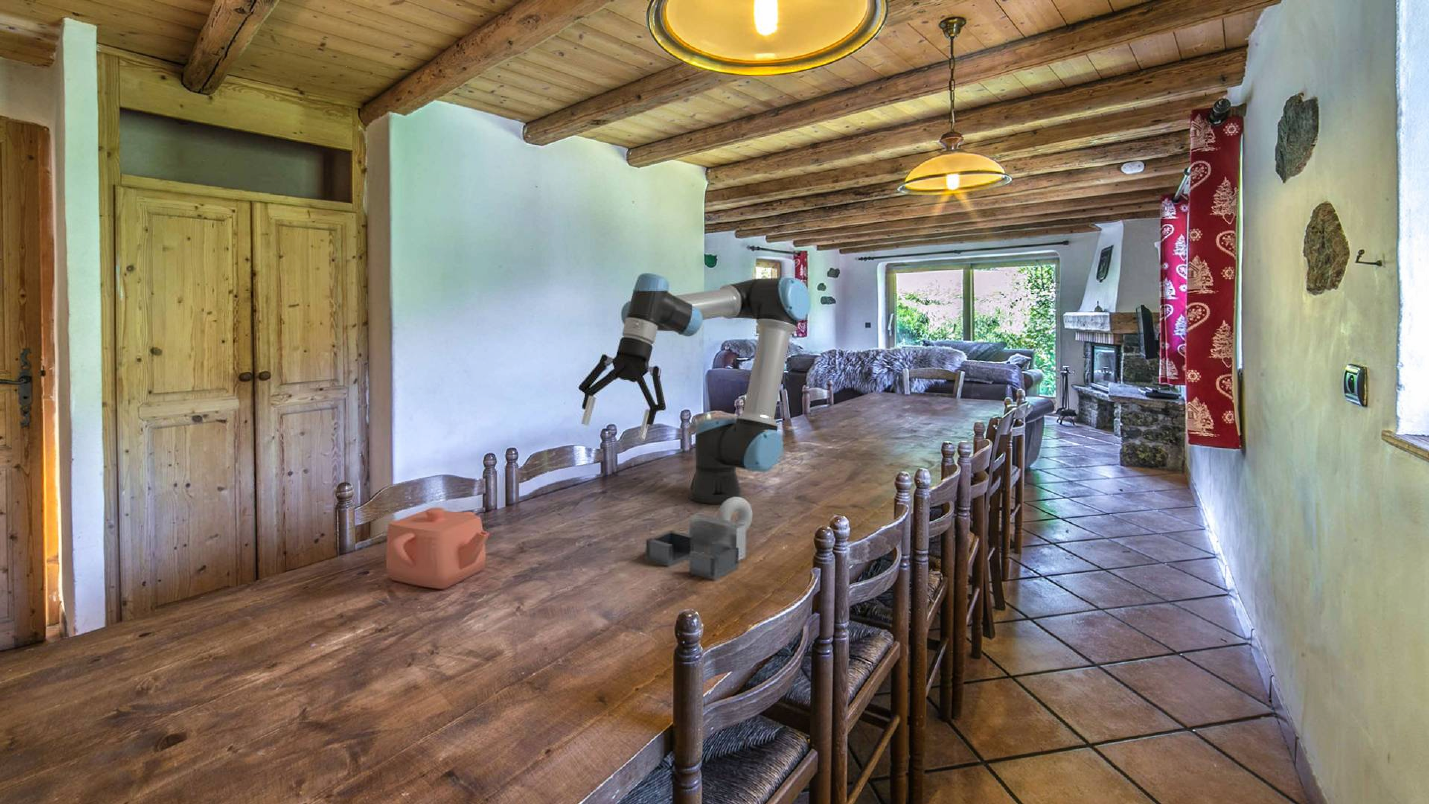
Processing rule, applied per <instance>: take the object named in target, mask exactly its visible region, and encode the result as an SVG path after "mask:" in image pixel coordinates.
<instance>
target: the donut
mask: <svg viewBox="0 0 1429 804" xmlns="http://www.w3.org/2000/svg"><path fill="white" fill-rule="evenodd" d="M735 512H738V517H737V520H736V521H735V522H736V523H741V524H745V525H746V532H747V531H748V529H749V528H750V526H751V524H752V521H753V510H752V507H751V504H750V502H748V501H747V500H746V499H745V498H743V497H742V496H741V497H732V498H729V499H727V500H726V501H725V502H723V503H722V504H720V506H719V508H718V510H717V512H716V517H715V518H719V519H724V520H728V521H731V518H732V515H733V513H735Z"/></svg>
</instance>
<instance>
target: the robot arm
mask: <svg viewBox="0 0 1429 804" xmlns="http://www.w3.org/2000/svg"><path fill="white" fill-rule="evenodd" d="M669 287H670V281H669V280H668V279H667V278H665V277H664V276H661V275H658V274H654V273H651V272H650V273H648V272H644V273H641V274H639V276H637V279H636V282H635V284H634V287H633V290H632V295H631V298H630V300H627V302H625V303H624V305H623V306H622V307H621V308H622V309H621V313H620V316H621V320H622V321H621V322H622V324H623V329H622V332H621V335H622V337H621V338H620V339H619V344H618V347H617V351H616V355H615V356H614V358H613V357H611V356H608V355H607V354H606V353H603V354H602V355H601V356H600V358H599V362H598V363H597V364H596V366H595V367H594V368H593V369H592V370H591V371H590V373H589V374H588V375H587V376H586V377H585V378H584V380H582V382H581V383H580V384H579V385H578V390H579V391H581V392H582V393H583V394H584V397H583V402H582V405H581V409H583V410H584V412H583V414H582V415H583V416H582V420H581V424H582V425H584V426H590V425H589V424H590V422H591V416H592V413H593V410H594V406H595V403H596V397H595V396H594V395H596V394H597V393H599V392H600V391H601V390H603V389H604V388H605V387H607V386H608V385H610V384H611V383H612V382H614V381H615V380H617V379H620V380H622V381H629V382H631V383H635V382H636V383H637V384H638V386H639V388H640V390H641V393H642V394H643V397H644V399H645V401H646V402H647V405H648V407H649V409H648V408H646V409H645V411H644V415H643V420H642V422H641V426H640V431H639V433H638V438H639V439H641V440H645V439H646V435H647V431H648V428H649V426H653V425H654V422H655V418H656V415H657V413H658V412H659V411H660V412H661V411H665V410H666V409H667V407H666V402H665V397H664V396H665V395H664V392H663V387H662V381H661V373H662V369H661V368H660V367H659V366H658V365H654V366H651V365H650V366H649V363H650V359H651V355H652V351H653V348H654V347H653V344H655V342H656V341H655V340H656V337H657V333H658V332H659V331H660V332H675V333H677V334H678V335H680V336H681V335H682V336H684V337H692V336H694V335H695V334H697V333H698V331H699V330H700V329H701V327H702V323H703V321H705V320H709V319H710V320H711V319H716V318H721V317H722V318H724V319H727V320H730V319H731V320H733V319H750V320H755V322H756V325H757V326H758V327H759V332H758V337H757V343H756V347H755V352H754V359H753V363H752V366H751V367H752V368H751V371H750V378H749V383H748V387H747V388H748V389H747V392H746V393H747V394H746V397H745V398H746V399H745V403H744V408H743V412H742V413H741V414H739V415H738V416H737V417H735V418H734V417H724V418H721V417H720V418H710V419H704V420H700V421H698V422H697V424H696V427H695V434H694V436H695V439H694V441H695V446H694V447H695V472H694V475H693V477H692V480H691V484H690V487H689V490H688V491H689V494H688V495H689V499H691V500H692V501H694V502H697V503H702V504H708V505H709V504H710V505H711V504H714V505H718V504H719V505H722V503H723V502H725V501H726V500H727V499H729V498H732V497H741V498H742V489H741V486H740V483H739V478H738V475H737V472H736V468H739V469H742V470H743V469H744V470H748V471H750V472H760V473H764V472H767V471H770V470H771V469H773V467H775V466H776V465H777V463H778V462H779V461H780V459H781V456H782V454H783V449H784V441H782V440H783V437H782V435H781V434H780V433H779V432H778V428H779V425H778V423H777V422H776V419H775V416H776V411H777V410H776V409H777V405H778V399H779V395H780V389H781V385H782V379H783V373H784V369H785V363H786V359H787V354H788V348H789V343H790V339H791V335H792V334H793V333H794V332H796V331H797V330H798V325H799V322H801V321H803V320H805V319H806V318H807V317H808V315H809V314H810V310H811V304H812V303H811V302H812V301H811V296H810V292H809V291H808V290H809V289H808V287H807V285H806V284H805V283H804V281H802V280H801V279H799V278H797V277H787V276H783V277H773V278H771V277H770V278H769V277H767V278H766V277H765V278H753V279H752V278H751V279H748V280H743V281H740V282H735V283H730V284H726V285H722V286H721V287H719V289H715V290H714V289H713V290H709V291H707V290H706V291H701V292H700V291H699V292H692V293H686V294H685V293H684V294H678V295H673V294H671V293H670V292H669V290H670V289H669ZM611 364H612V366H613V368H612V369H611V370H610V371H609V372H608V373H607V374H606V375H605V376H603V377H602V378H601V379H599V380H598V381H597V379H598V378H599V377H600V376H601V375H602V374H603V373H604V372H605V370H606V369H607V367H609V366H611ZM648 372H649V375H650V376H651V377H652V383H653V387H654V391H655V397H656V402H657V404H656V402H655V399H654V398H653V395H652V393H651V391H650V389H649V387H648V385H647V383H646V381H645V378H644V376H645V375H646V374H648ZM596 381H597V382H596Z"/></svg>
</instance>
